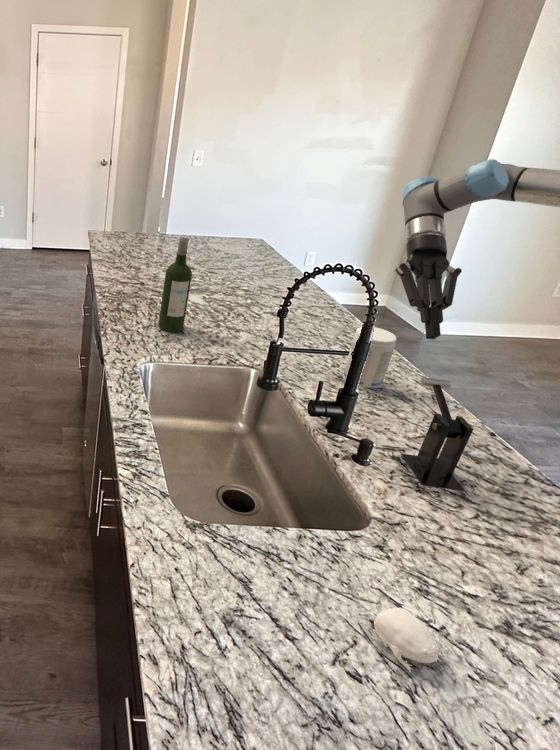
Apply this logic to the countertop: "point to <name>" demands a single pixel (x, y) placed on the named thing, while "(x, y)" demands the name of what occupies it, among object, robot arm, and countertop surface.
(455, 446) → the bracket
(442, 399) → the tap lever
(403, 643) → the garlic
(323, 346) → the countertop surface
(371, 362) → the supplement tub
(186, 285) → the wine bottle
